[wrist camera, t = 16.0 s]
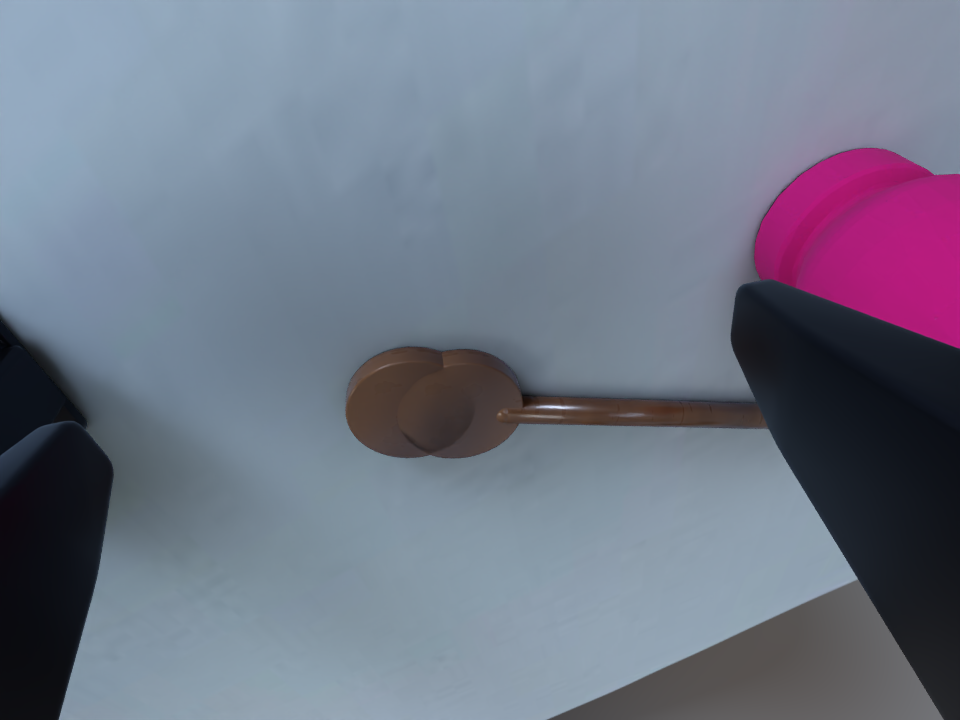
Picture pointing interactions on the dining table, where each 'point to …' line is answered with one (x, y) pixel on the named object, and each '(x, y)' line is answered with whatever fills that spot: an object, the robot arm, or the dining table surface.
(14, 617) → the robot arm
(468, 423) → the spoon
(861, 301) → the pepper mill
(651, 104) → the dining table surface
